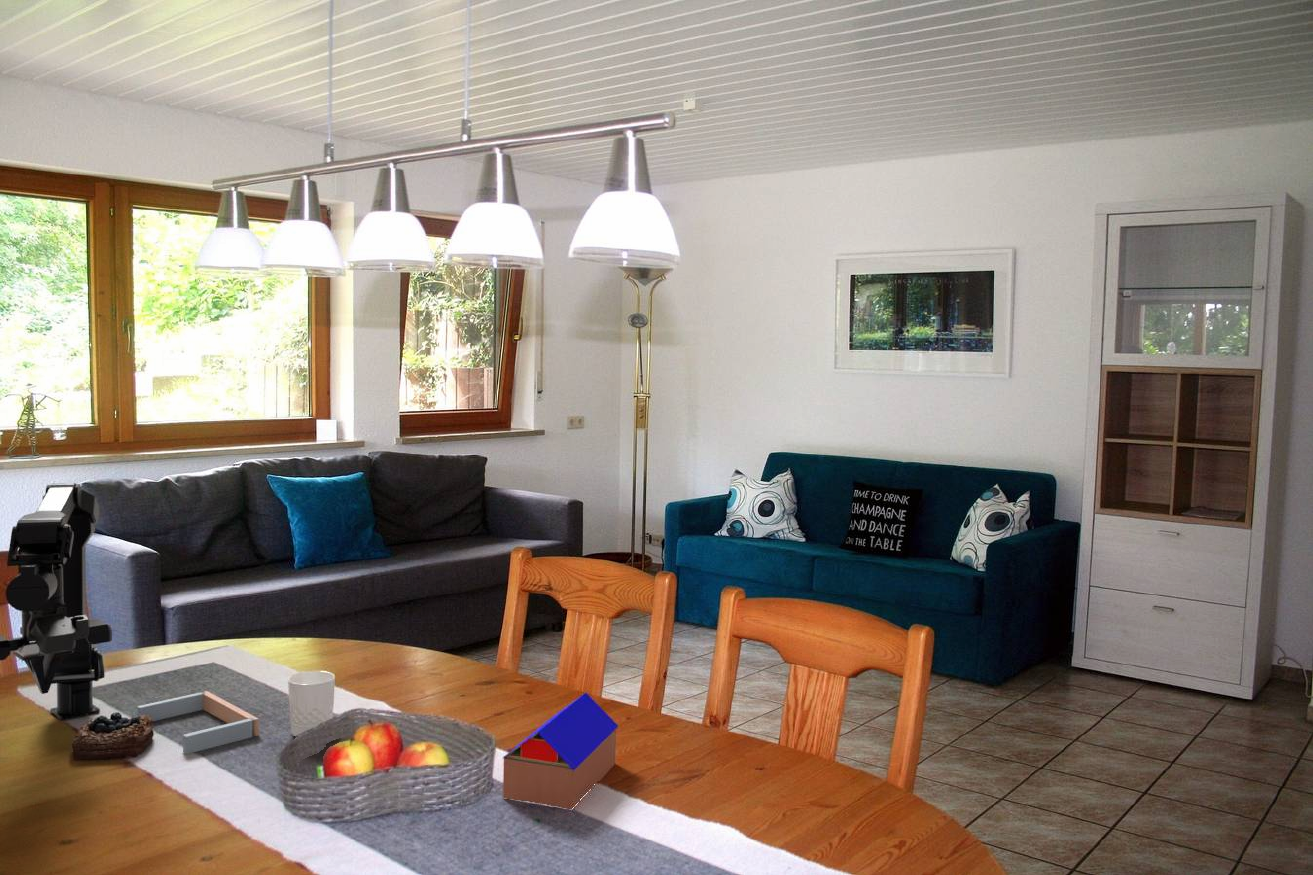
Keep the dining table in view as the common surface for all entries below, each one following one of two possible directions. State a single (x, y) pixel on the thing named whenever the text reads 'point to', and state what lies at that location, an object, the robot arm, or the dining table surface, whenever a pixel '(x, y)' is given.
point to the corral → (237, 719)
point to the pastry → (113, 738)
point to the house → (562, 756)
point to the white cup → (310, 699)
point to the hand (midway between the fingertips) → (44, 692)
